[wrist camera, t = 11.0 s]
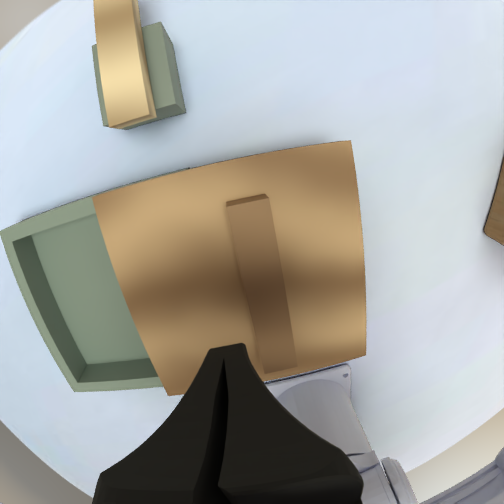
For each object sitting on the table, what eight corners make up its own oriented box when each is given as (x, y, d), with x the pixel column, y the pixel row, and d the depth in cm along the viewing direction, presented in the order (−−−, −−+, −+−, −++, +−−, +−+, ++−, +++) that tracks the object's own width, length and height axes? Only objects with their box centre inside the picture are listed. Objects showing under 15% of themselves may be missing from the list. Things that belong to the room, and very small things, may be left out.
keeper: (186, 112, 17) (175, 103, 14) (126, 129, 17) (103, 126, 14) (172, 44, 16) (160, 21, 12) (115, 62, 16) (91, 45, 12)
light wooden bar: (156, 117, 13) (149, 114, 12) (119, 129, 13) (109, 127, 12) (134, -32, 10) (127, -44, 9) (101, -20, 10) (92, -31, 9)
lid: (360, 347, 20) (374, 368, 18) (170, 386, 20) (165, 410, 18) (343, 140, 16) (362, 140, 13) (98, 194, 16) (79, 202, 13)
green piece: (236, 350, 23) (238, 375, 20) (85, 370, 23) (74, 392, 20) (189, 167, 19) (182, 170, 16) (21, 220, 18) (-1, 231, 16)
